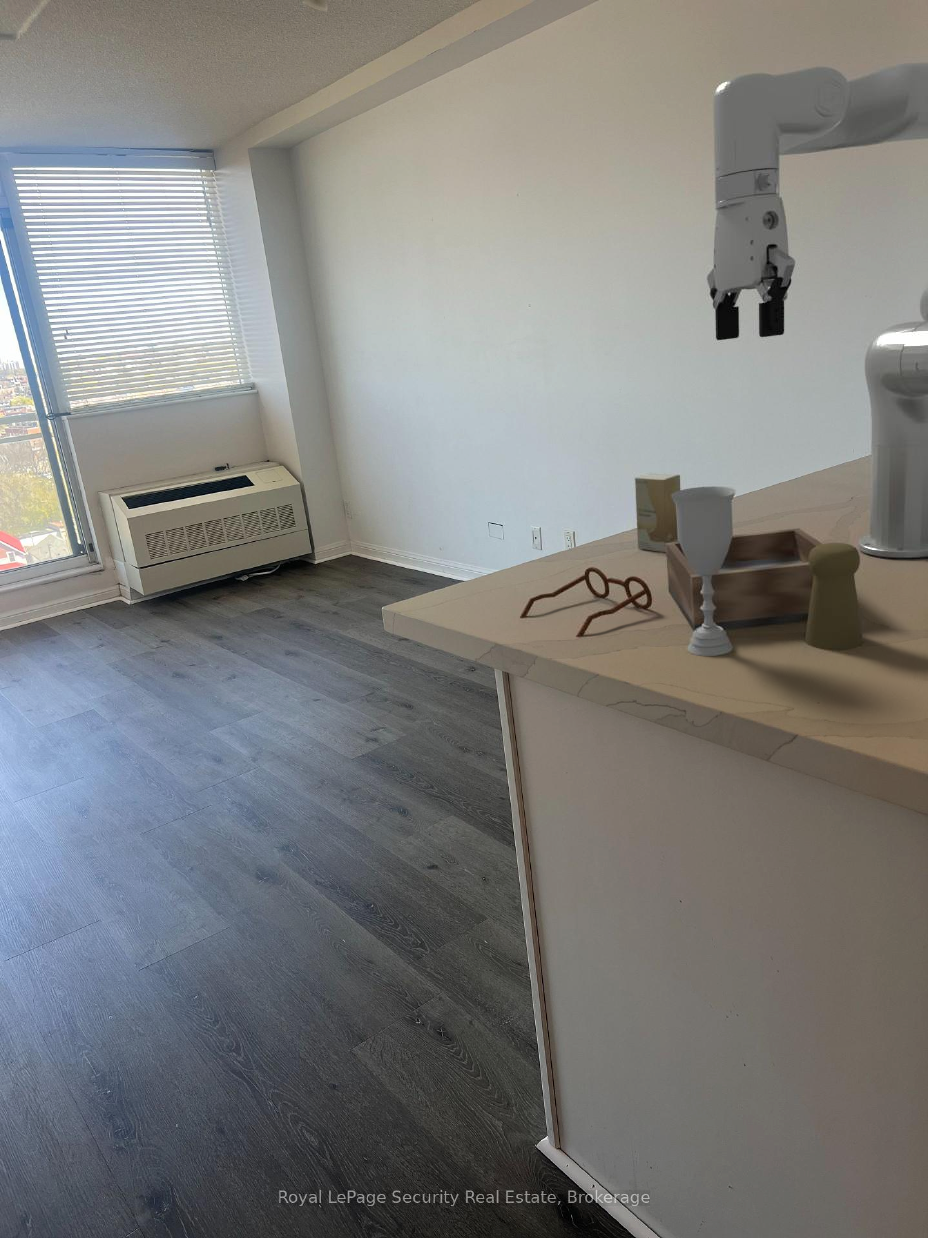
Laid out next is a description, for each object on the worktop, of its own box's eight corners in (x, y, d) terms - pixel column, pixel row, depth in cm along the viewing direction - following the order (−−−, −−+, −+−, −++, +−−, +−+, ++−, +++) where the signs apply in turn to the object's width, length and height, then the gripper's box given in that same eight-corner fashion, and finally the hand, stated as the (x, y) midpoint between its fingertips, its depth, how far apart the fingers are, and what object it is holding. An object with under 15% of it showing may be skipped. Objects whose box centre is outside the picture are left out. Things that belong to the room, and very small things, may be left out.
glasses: (655, 613, 116) (652, 577, 115) (578, 640, 110) (575, 602, 109) (591, 596, 127) (588, 563, 126) (518, 620, 121) (514, 585, 119)
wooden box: (799, 577, 122) (799, 528, 120) (847, 617, 105) (847, 560, 103) (668, 591, 123) (665, 542, 121) (694, 632, 106) (691, 577, 104)
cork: (868, 648, 95) (870, 549, 92) (809, 650, 96) (808, 553, 93) (856, 629, 100) (857, 536, 97) (800, 632, 102) (800, 540, 99)
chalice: (671, 642, 104) (662, 492, 99) (727, 633, 104) (721, 483, 99) (691, 663, 97) (683, 502, 92) (751, 654, 97) (746, 493, 92)
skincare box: (637, 549, 148) (632, 477, 144) (653, 543, 150) (648, 472, 147) (668, 553, 143) (664, 478, 139) (684, 546, 146) (680, 473, 142)
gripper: (819, 175, 101) (817, 331, 106) (734, 202, 117) (736, 337, 122) (762, 179, 99) (763, 337, 104) (683, 206, 115) (688, 342, 120)
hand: (748, 337), depth 113 cm, fingers open, 9 cm apart
